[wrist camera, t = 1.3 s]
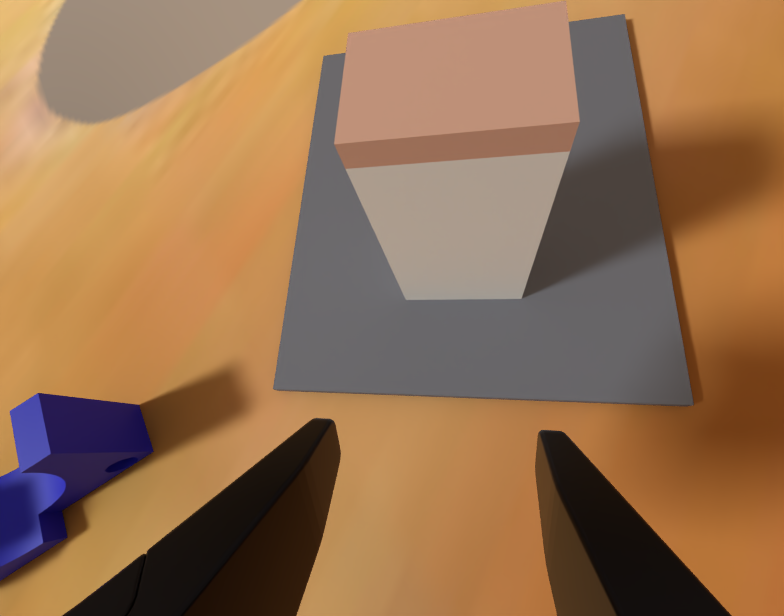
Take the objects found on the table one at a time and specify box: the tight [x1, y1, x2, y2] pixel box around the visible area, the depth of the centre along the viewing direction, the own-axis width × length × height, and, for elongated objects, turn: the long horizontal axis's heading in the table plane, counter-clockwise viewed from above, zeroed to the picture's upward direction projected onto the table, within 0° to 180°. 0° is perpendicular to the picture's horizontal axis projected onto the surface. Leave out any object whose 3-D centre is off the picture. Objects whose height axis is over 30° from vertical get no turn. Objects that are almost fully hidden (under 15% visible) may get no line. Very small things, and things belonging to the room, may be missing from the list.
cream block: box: [334, 1, 580, 300], centre depth 16 cm, size 4×6×12 cm, turn 87°
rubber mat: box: [273, 14, 694, 406], centre depth 23 cm, size 24×20×1 cm
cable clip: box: [0, 393, 154, 581], centre depth 20 cm, size 12×4×6 cm, turn 122°
